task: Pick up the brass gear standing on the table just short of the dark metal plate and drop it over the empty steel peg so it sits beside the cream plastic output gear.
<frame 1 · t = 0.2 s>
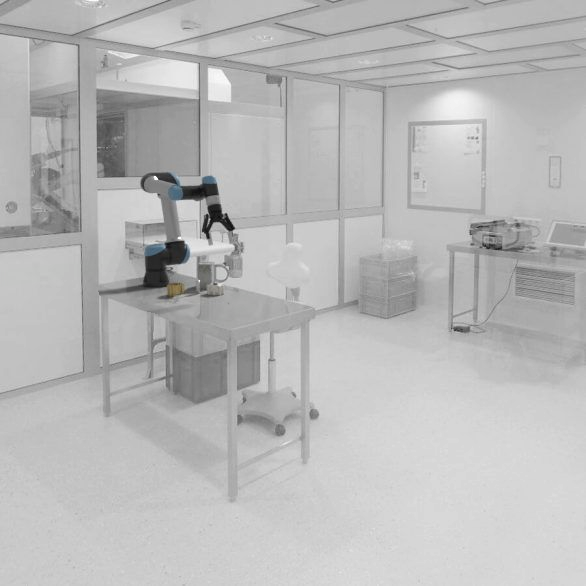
hand: (221, 244, 347), 27 cm above the table, tool tilted 20°, fingers open, 13 cm apart
gear plate: (207, 295, 350), on the table
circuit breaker: (207, 289, 370), on the table
output gear: (215, 288, 349), point 4 cm above the table, hinge at 0.0°
brass gear: (176, 295, 352), on the table
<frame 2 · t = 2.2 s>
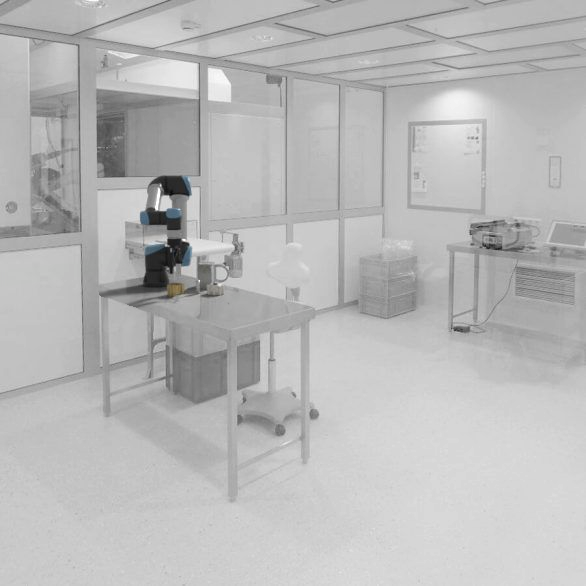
hand: (175, 277, 350), 9 cm above the table, tool pointing down, fingers open, 13 cm apart
nothing on the table moved.
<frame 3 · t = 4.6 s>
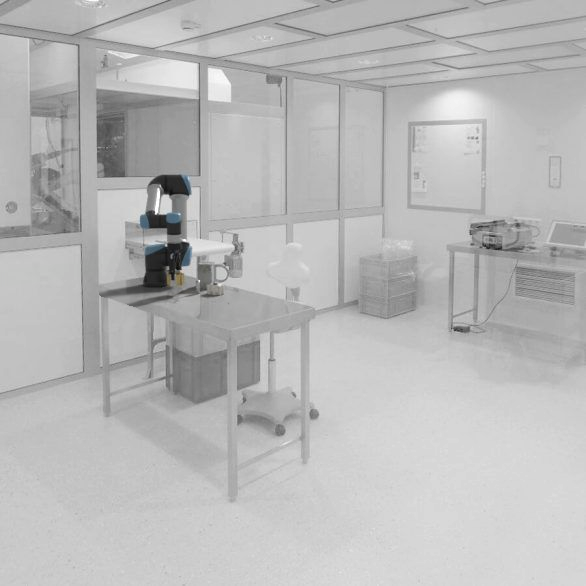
hand: (175, 284, 351), 6 cm above the table, tool pointing down, fingers closed on brass gear, 9 cm apart
brass gear: (175, 284, 351), point 6 cm above the table, touching gripper
everything else where it was.
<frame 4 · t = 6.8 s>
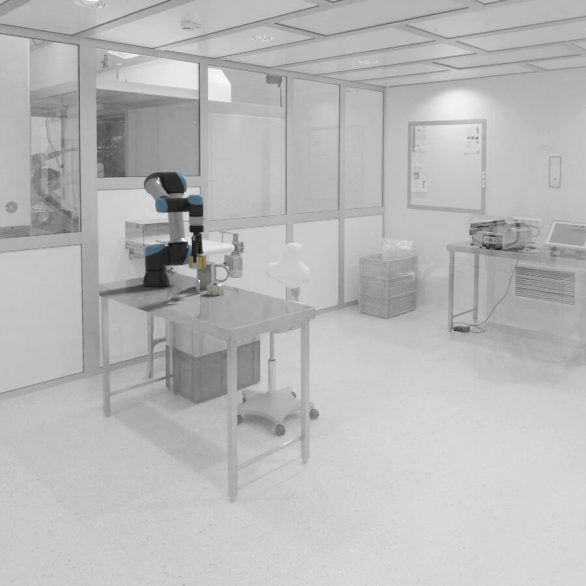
hand: (197, 267, 348), 15 cm above the table, tool pointing down, fingers closed on brass gear, 9 cm apart
brass gear: (197, 267, 348), point 15 cm above the table, touching gripper
everything else where it was.
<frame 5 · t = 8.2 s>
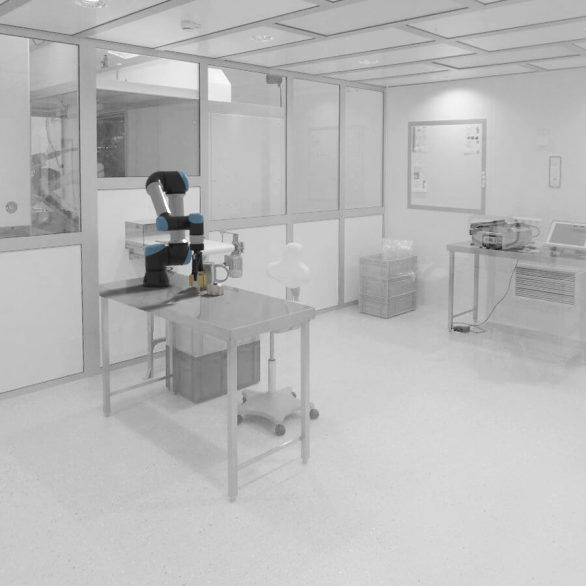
hand: (197, 285, 350), 6 cm above the table, tool pointing down, fingers closed on brass gear, 9 cm apart
brass gear: (197, 285, 350), point 5 cm above the table, touching gripper
everything else where it was.
when the fingers open (3 cm above the table, at t = 9.4 s): brass gear drops 1 cm, resting on gear plate.
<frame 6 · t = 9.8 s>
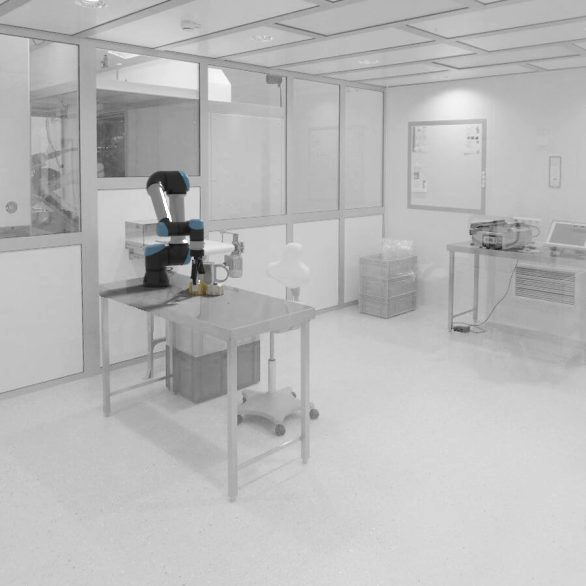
hand: (197, 288, 350), 4 cm above the table, tool pointing down, fingers open, 13 cm apart
brass gear: (198, 293, 351), point 1 cm above the table, touching gear plate
everything else where it was.
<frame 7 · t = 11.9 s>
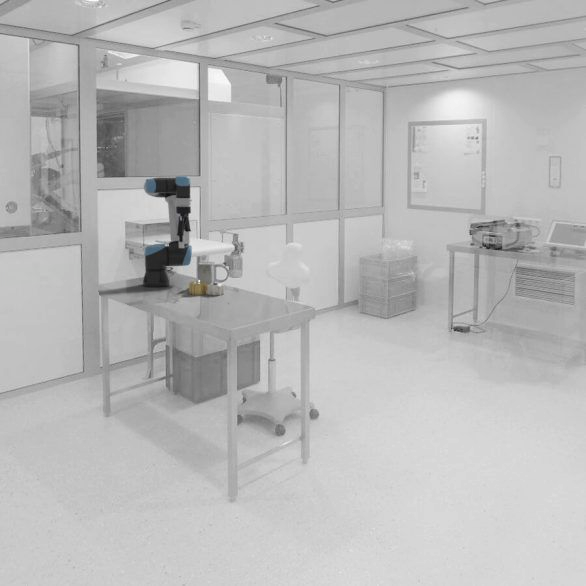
hand: (184, 245, 351), 26 cm above the table, tool pointing down, fingers open, 13 cm apart
nothing on the table moved.
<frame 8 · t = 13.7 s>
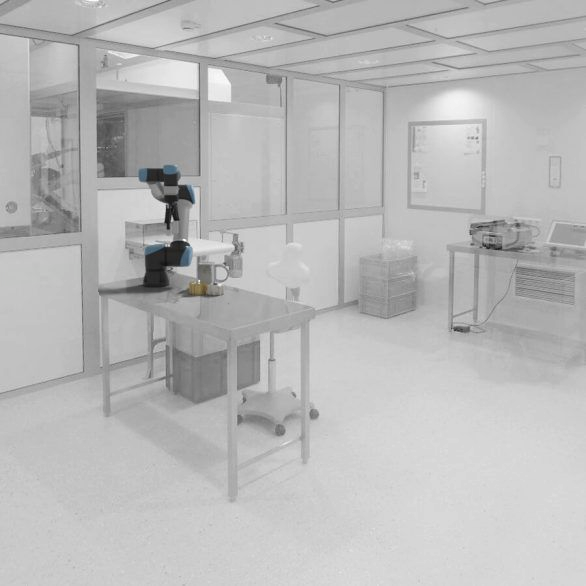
hand: (172, 234, 353), 32 cm above the table, tool pointing down, fingers open, 13 cm apart
nothing on the table moved.
at the end: brass gear 0.1 cm from the target spot, point 1.1 cm above the table; brass gear tilted 0°; the gripper is holding nothing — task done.
